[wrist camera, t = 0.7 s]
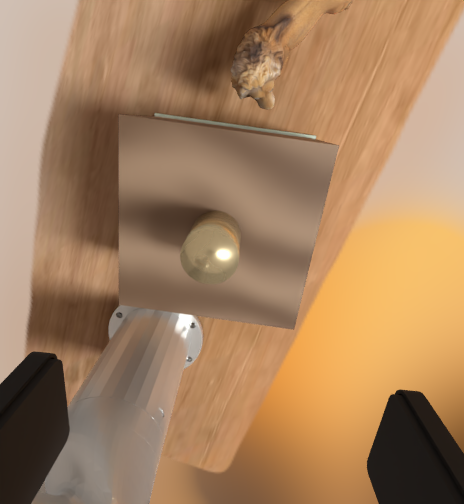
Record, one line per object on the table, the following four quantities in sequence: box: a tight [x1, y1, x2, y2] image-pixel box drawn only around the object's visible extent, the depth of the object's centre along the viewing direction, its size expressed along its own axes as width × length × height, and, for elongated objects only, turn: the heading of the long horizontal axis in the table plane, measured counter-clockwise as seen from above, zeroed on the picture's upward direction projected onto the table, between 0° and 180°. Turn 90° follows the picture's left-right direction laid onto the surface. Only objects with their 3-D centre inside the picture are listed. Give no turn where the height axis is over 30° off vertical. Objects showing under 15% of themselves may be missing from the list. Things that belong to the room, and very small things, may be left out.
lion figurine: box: [231, 0, 353, 110], centre depth 26 cm, size 15×5×9 cm, turn 140°
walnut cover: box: [119, 114, 339, 330], centre depth 29 cm, size 16×16×16 cm
